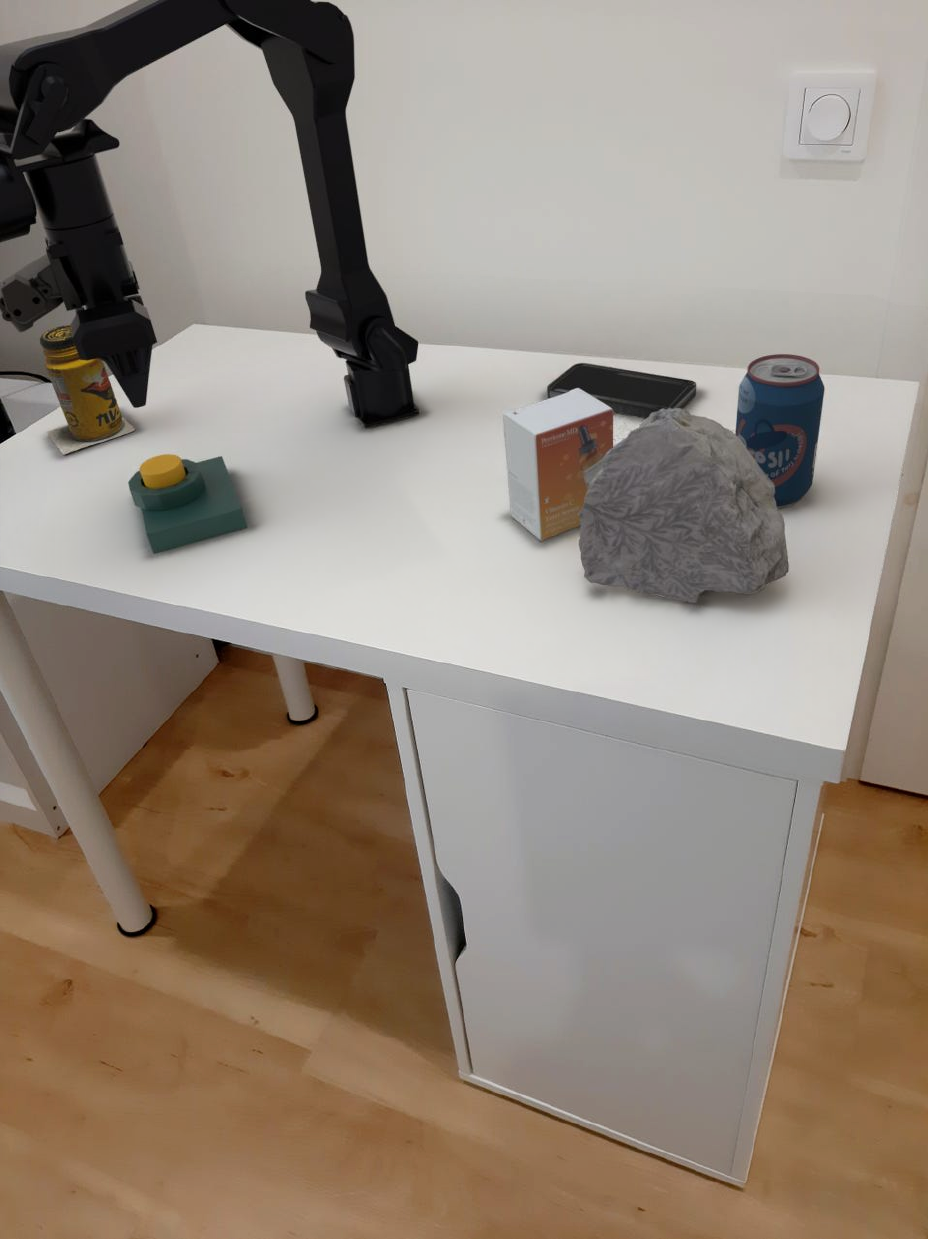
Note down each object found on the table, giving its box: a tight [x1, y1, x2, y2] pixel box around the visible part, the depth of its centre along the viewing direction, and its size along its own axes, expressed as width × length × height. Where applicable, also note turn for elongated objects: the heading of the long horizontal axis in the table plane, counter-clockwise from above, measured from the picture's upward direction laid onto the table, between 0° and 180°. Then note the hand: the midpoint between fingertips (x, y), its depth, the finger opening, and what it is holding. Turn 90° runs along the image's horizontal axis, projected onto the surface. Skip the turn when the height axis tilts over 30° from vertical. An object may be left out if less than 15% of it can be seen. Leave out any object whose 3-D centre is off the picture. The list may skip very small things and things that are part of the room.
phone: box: [546, 362, 697, 419], centre depth 107 cm, size 8×1×15 cm
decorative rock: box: [578, 408, 790, 604], centre depth 75 cm, size 16×7×15 cm, turn 68°
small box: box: [502, 388, 614, 541], centre depth 86 cm, size 8×6×10 cm
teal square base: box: [127, 455, 248, 555], centre depth 95 cm, size 10×12×4 cm
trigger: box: [139, 453, 186, 489], centre depth 94 cm, size 4×4×2 cm
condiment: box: [39, 324, 136, 456], centre depth 110 cm, size 7×8×12 cm
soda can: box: [734, 353, 825, 509], centre depth 85 cm, size 7×7×12 cm
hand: (137, 395), depth 89 cm, fingers open, 5 cm apart
